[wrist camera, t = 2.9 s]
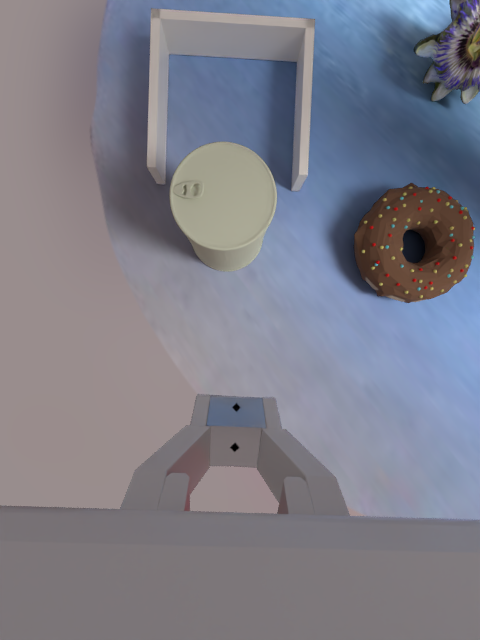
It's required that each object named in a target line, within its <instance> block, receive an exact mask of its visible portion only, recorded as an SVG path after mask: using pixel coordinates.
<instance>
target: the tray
mask: <svg viewBox="0 0 480 640" xmlns="http://www.w3.org/2000/svg"><path fill="white" fill-rule="evenodd" d="M314 29H315V19H305V18H290V17H274V16H259V15H244V14H228V13H213V12H198V11H182V10H167V9H152V8H151V34H150V70H149V106H148V143H147V168H148V170H149V171H150V173H151V175H152V176H153V178H154V180H155V181H156V183H157V184H164V185H165V176H166V142H167V108H168V74H169V54H176V55H193V56H209V57H225V58H242V59H258V60H274V61H291V62H297V73H296V96H295V118H294V141H293V164H292V187H291V191H299V190H300V189H301V187H302V185H303V183H304V181H305V179H306V178H307V176H308V160H309V138H310V116H311V94H312V72H313V51H314Z"/></svg>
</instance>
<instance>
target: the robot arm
mask: <svg viewBox="0 0 480 640" xmlns="http://www.w3.org/2000/svg"><path fill="white" fill-rule="evenodd" d="M209 466H236V467H252V468H257V470H258V471H259V473H260V474H261V476H262V477H263V479H264V481H265V482H266V484H267V485H268V487H269V488H270V490H271V492H272V493H273V495H274V496H275V498H276V499H277V501H278V502H279V507H278V512H277V514H267V513H234V512H201V511H198V512H197V511H190V494H191V493H192V491H193V490H194V488H195V487H196V486H197V484H198V483H199V481H200V480H201V479H202V477H203V476H204V474H205V473H206V472H207V470H208V469H209ZM0 640H480V520H470V519H437V518H403V517H370V516H350V515H349V512H348V509H347V506H346V504H345V501H344V498H343V495H342V493H341V490H340V487H339V485H338V482H337V479H336V477H335V476H334V475H333V474H332V473H331V472H330V471H329V470H328V469H327V468H326V467H325V466H324V465H322V464H321V463H320V462H319V461H318V460H317V459H316V458H315V457H314V456H313V455H312V454H311V453H310V452H309V451H308V450H307V449H306V448H305V447H304V446H303V445H302V444H301V443H300V442H299V441H298V440H297V439H296V438H294V437H293V436H292V435H291V434H290V433H289V432H288V431H287V430H286V429H282V426H281V421H280V416H279V412H278V407H277V402H276V399H275V398H274V397H262V398H259V397H236V396H222V395H204V394H198V395H197V396H196V400H195V406H194V410H193V414H192V419H191V424H190V425H186V426H185V427H184V428H183V429H181V430H180V431H179V432H178V433H177V434H176V435H175V436H173V437H172V438H171V439H170V440H169V441H168V442H167V443H165V444H164V445H163V446H162V447H161V448H160V449H159V450H158V451H157V452H155V453H154V454H153V455H152V456H151V457H150V458H148V459H147V460H146V461H145V462H144V463H143V464H142V465H140V466H139V467H138V468H137V469H136V470H135V472H134V474H133V477H132V480H131V482H130V485H129V487H128V490H127V492H126V495H125V498H124V500H123V503H122V505H121V507H120V509H99V508H98V509H97V508H65V507H64V508H63V507H31V506H0Z"/></svg>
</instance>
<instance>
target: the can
mask: <svg viewBox="0 0 480 640" xmlns="http://www.w3.org/2000/svg"><path fill="white" fill-rule="evenodd" d="M276 203H277V191H276V185H275V181H274V178H273V176H272V173H271V171H270V169H269V168H268V166H267V165H266V163H265V162H264V161H263V160H262V159H261V158H260V157H259V156H258V155H257V154H256V153H255V152H253V151H252V150H250V149H248V148H246V147H244V146H242V145H239V144H236V143H231V142H214V143H209V144H206V145H203V146H201V147H199V148H197V149H195V150H194V151H192V152H191V153H189V154H188V155H187V156H186V157H185V158H184V159H183V160H182V162H181V163H180V164H179V166H178V167H177V169H176V171H175V173H174V175H173V178H172V181H171V186H170V206H171V210H172V214H173V216H174V219H175V221H176V223H177V224H178V226H179V228H180V229H181V230H182V231H183V233H184V234H185V235H186V236H187V238H188V239H189V241H190V242H191V244H192V246H193V249H194V251H195V253H196V255H197V256H198V257H199V259H200V260H201V261H202V262H203V263H205V264H206V265H207V266H209V267H211V268H213V269H216V270H219V271H235V270H239V269H241V268H243V267H245V266H247V265H248V264H250V263H251V262H252V261H253V260H254V259H255V257H256V256H257V255H258V253H259V251H260V249H261V246H262V242H263V237H264V235H265V232H266V230H267V228H268V226H269V225H270V223H271V221H272V218H273V216H274V213H275V209H276Z"/></svg>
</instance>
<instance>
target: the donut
mask: <svg viewBox="0 0 480 640" xmlns="http://www.w3.org/2000/svg"><path fill="white" fill-rule="evenodd" d="M406 230H413V231H415V232H417V233H419V234H420V236H421V237H422V239H423V240H424V243H425V253H424V255H423V257H422V260H421V261H419V262H418V263H410V262H408V261H406V259H405V257H404V255H403V253H402V250H403V235H404V233H405V232H406ZM473 230H475V227H473V222H472V220H471V217H470V215H469V213H468V210H467V207H463V206H461V205H460V204H459V203H458V200H454V199H453V198H452V197H451V196H450V195H448V194H447V193H446V192H445V191H442V190H439V189H435V187H432V188H429V187H425V188H422V187H417V186H416V185H414V184H413V183H410V184H408V185H407V186H405V187H403V188H397V189H389V190H388V191H387V192H386V193H385V194H384V195H383V196H382V197H381V198H380V199H379V200H378V201H377V202H376V203H375V204H374V205H373V207H372V208H371V210H370V211H369V212H368V213H367V214H366V215H364V217H363V218H362V220H361V221H360V223H359V227H358V230H357V232H356V233H355V234H354V252H355V259H356V263H357V266H358V268H359V270H360V273H361V276H362V279H363V280H365V281H367V283H368V284H369V285H370V286H371V287H372V288H373V289H375V290H376V293H377V296H386V297H389V298H392V299H395V300H398V301H404V302H406V303H410V302H417V301H422V300H426V299H431V298H434V297H436V296H439V295H441V294H444V293H447V292H448V291H449V290H450V289H451V288H452V287H453V286H454V285H455V284H457V283H459V282H460V281H461V280H462V279H463V278H464V277H466V276H467V275H466V273H467V271H468V268H469V266H470V263H471V260H472V259H473V258H474V256H472V255H473V248H474V241H473V239H474V238H475V236H473Z"/></svg>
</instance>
